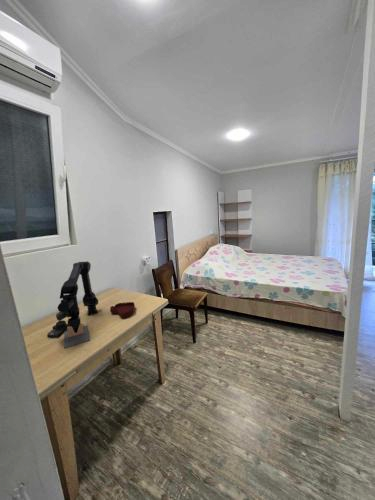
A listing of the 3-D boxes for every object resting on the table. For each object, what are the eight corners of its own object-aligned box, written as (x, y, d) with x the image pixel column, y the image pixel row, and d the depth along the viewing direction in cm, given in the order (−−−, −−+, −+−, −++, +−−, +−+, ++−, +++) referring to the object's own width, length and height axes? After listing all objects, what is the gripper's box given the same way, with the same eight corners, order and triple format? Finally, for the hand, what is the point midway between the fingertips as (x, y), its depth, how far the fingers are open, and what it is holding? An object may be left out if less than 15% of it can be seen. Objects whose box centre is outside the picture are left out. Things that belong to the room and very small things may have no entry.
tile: (68, 336, 122) (67, 326, 121) (83, 331, 126) (82, 322, 125) (68, 337, 121) (67, 328, 120) (83, 333, 124) (82, 324, 123)
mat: (64, 332, 127) (64, 331, 127) (87, 326, 133) (87, 325, 133) (64, 348, 112) (63, 347, 112) (90, 340, 118) (90, 339, 118)
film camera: (56, 331, 119) (43, 324, 121) (54, 342, 120) (42, 335, 123) (75, 320, 131) (63, 315, 134) (74, 331, 133) (62, 325, 136)
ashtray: (142, 311, 151) (141, 304, 150) (123, 320, 139) (122, 313, 138) (127, 305, 162) (126, 299, 161) (108, 313, 149) (107, 307, 148)
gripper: (56, 302, 124) (60, 325, 127) (54, 314, 108) (59, 341, 111) (77, 297, 129) (80, 320, 132) (78, 309, 113) (82, 335, 116)
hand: (75, 328), depth 122 cm, fingers open, 9 cm apart
